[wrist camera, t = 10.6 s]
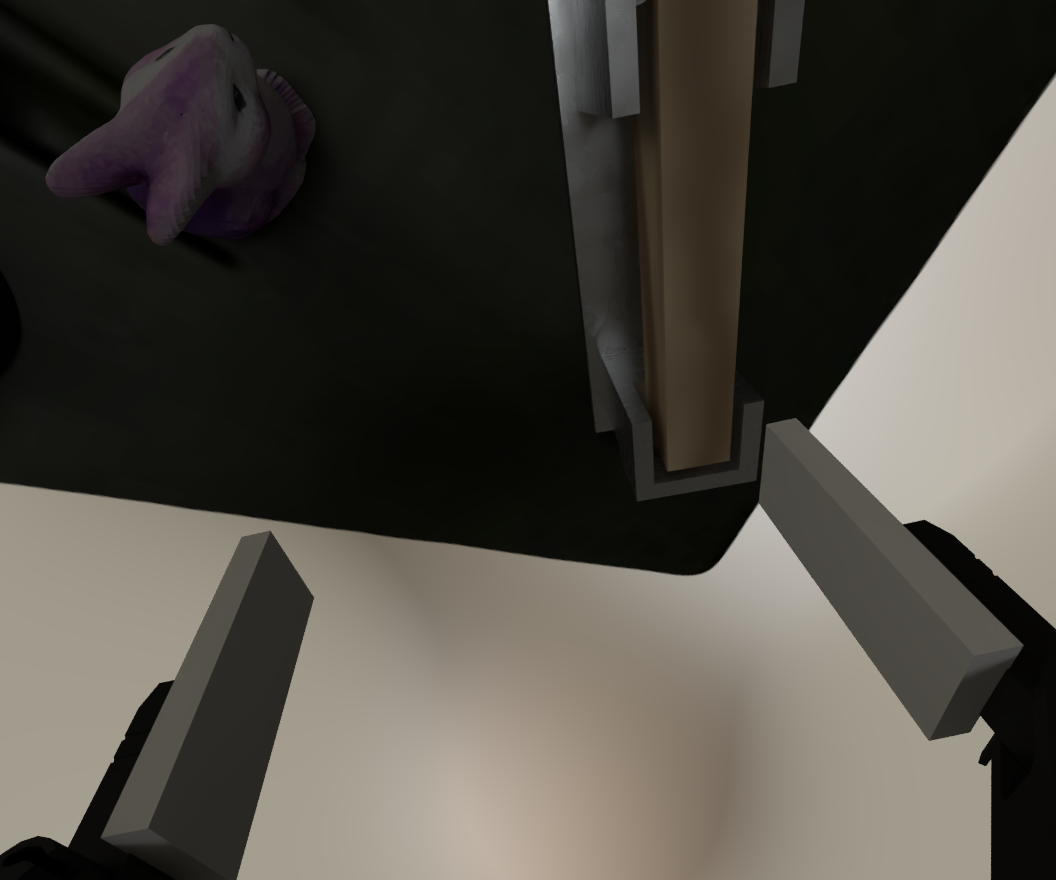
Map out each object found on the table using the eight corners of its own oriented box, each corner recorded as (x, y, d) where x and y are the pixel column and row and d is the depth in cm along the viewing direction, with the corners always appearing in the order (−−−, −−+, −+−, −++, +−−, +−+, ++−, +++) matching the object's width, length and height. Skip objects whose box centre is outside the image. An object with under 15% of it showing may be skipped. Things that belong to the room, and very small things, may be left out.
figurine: (320, 49, 30) (204, 20, 17) (325, 237, 35) (241, 319, 23) (135, 9, 28) (-141, -54, 16) (171, 213, 34) (-12, 286, 21)
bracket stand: (593, 426, 45) (622, 512, 36) (541, -39, 28) (571, -100, 19) (710, 405, 45) (770, 486, 35) (727, -77, 28) (848, -158, 19)
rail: (647, 430, 38) (667, 471, 34) (628, 10, 25) (657, -6, 21) (702, 420, 38) (729, 460, 34) (712, -7, 25) (759, -27, 21)
